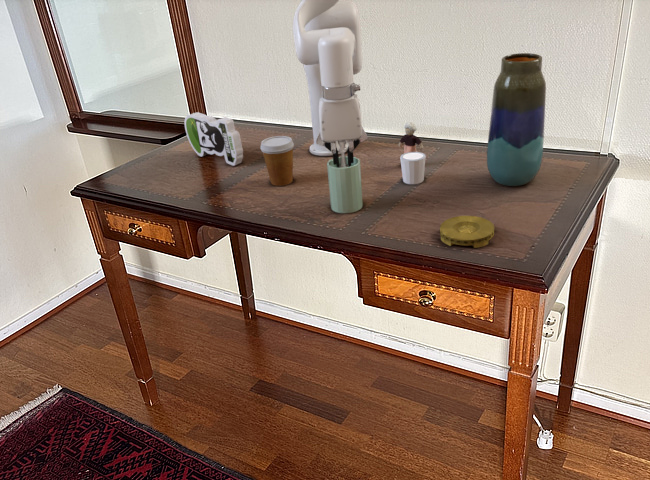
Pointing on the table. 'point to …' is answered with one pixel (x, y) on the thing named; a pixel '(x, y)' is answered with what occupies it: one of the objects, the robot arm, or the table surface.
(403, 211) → the table surface
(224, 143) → the cutout
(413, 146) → the grandmother figurine
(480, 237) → the compass
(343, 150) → the chess piece
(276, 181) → the disposable coffee cup
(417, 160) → the shot glass
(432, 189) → the table surface
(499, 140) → the vase
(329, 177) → the tube
